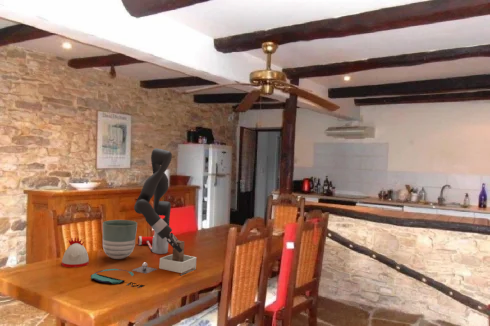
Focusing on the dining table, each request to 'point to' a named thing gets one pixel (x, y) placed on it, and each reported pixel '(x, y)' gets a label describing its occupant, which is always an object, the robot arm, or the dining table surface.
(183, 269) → the bin
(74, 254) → the kitchen timer
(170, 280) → the dining table surface
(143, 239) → the toy hammer
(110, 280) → the cutlery set
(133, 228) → the planter
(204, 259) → the dining table surface
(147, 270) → the stud plate
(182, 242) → the strut
